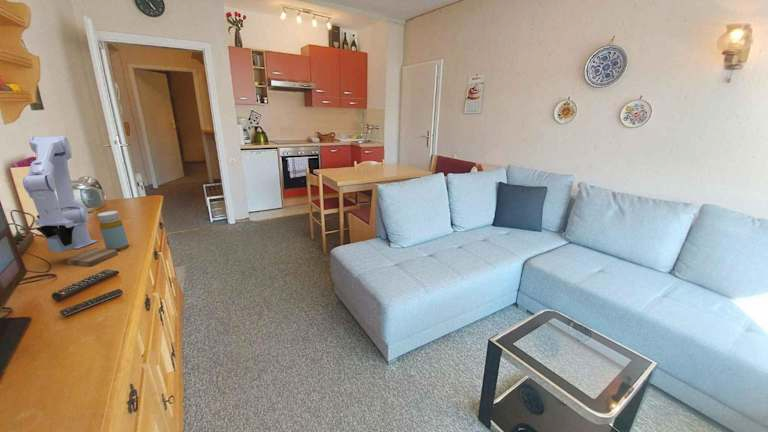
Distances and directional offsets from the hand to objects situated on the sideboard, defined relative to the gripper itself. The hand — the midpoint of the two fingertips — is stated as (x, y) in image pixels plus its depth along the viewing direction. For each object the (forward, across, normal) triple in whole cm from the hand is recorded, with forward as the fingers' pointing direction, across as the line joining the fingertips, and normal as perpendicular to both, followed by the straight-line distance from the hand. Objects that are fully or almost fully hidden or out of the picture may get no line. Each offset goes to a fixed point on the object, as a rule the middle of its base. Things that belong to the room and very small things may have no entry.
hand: (62, 244), depth 114 cm
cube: (+2, 0, 0) cm, 2 cm away
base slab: (+7, +8, +3) cm, 11 cm away
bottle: (+7, +7, +13) cm, 16 cm away
